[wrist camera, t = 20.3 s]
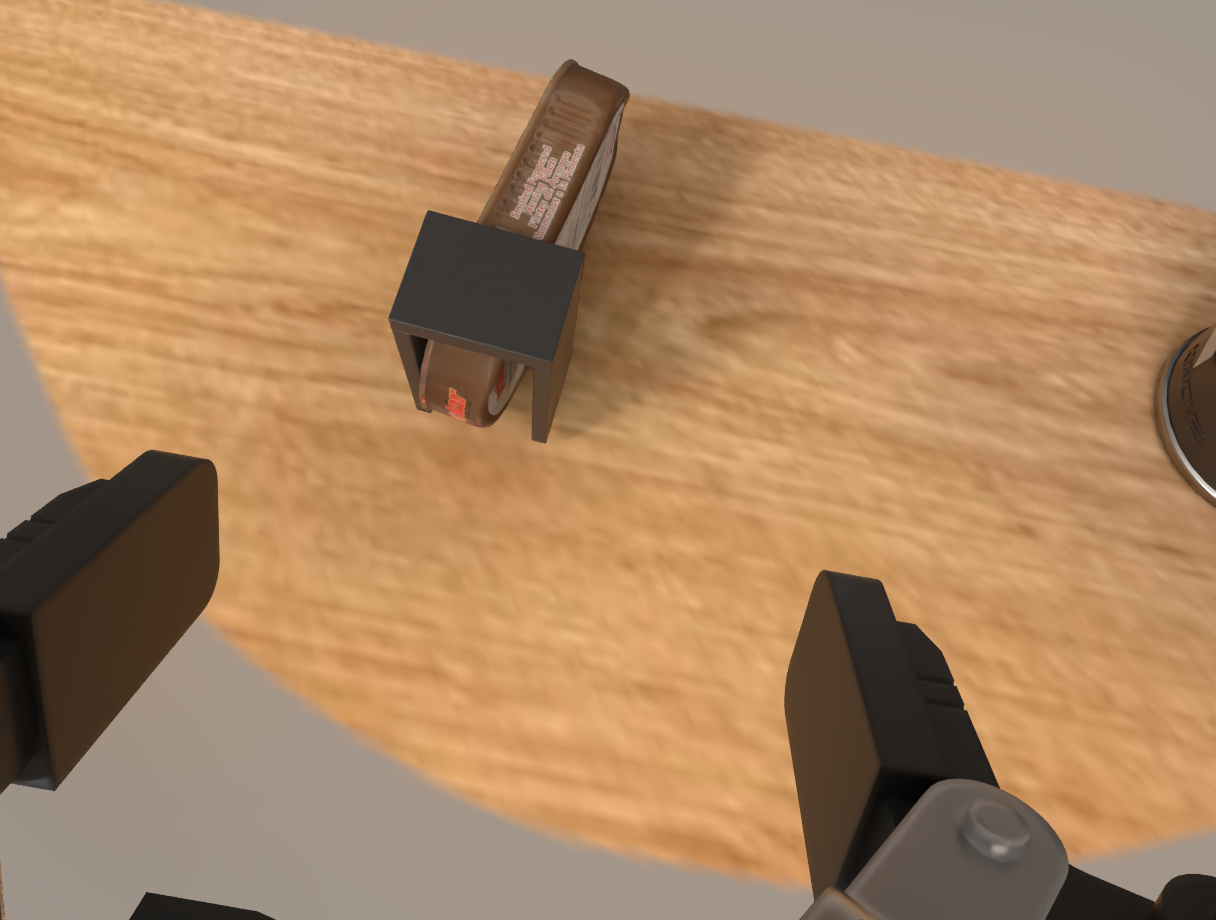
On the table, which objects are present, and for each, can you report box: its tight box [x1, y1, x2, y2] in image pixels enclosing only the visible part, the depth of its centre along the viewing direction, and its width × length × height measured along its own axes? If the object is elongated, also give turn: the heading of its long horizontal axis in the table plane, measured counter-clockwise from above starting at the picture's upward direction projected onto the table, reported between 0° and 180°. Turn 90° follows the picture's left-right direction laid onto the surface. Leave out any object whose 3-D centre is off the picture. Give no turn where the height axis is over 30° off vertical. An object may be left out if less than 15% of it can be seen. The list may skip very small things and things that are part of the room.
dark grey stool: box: [388, 210, 585, 443], centre depth 32 cm, size 5×4×8 cm
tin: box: [419, 59, 630, 427], centre depth 35 cm, size 15×3×8 cm, turn 159°
